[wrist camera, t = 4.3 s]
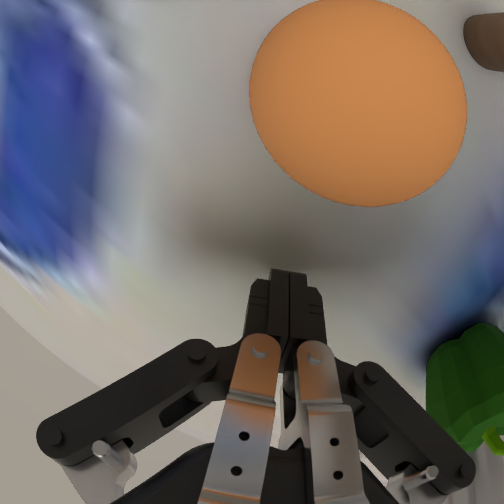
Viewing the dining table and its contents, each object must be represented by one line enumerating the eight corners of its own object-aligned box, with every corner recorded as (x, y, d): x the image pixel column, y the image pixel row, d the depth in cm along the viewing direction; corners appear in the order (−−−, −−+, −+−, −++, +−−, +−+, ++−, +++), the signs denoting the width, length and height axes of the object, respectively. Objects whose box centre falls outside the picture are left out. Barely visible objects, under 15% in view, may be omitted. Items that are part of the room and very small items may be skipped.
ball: (456, 273, 6) (379, 192, 11) (528, 59, 3) (420, 62, 8) (208, 208, 5) (235, 150, 11) (287, -76, 2) (275, 6, 8)
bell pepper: (424, 388, 20) (443, 489, 12) (398, 349, 17) (425, 489, 9) (504, 343, 16) (540, 440, 8) (501, 288, 13) (564, 415, 5)
